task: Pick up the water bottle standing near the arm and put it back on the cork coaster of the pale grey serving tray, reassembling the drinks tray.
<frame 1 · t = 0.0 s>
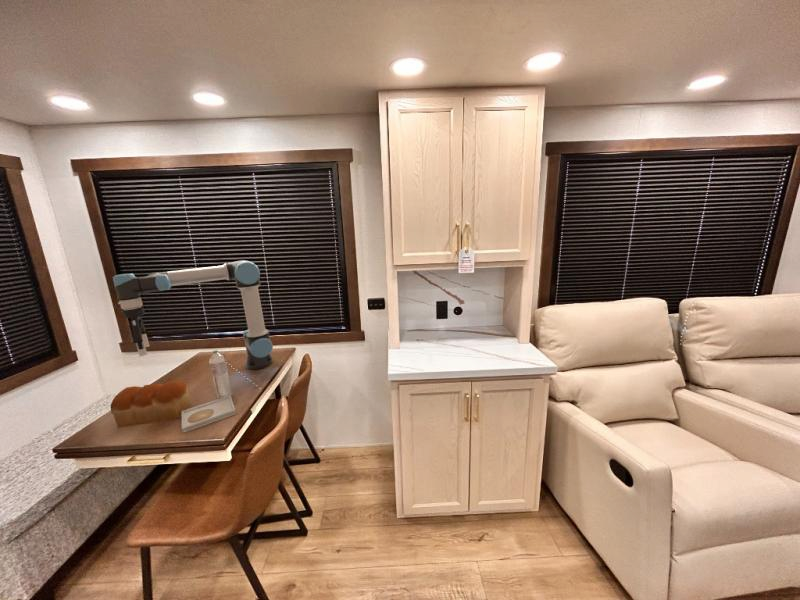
hand: (144, 351, 143), 28 cm above the table, fingers open, 13 cm apart
tray: (209, 414, 138), on the table
water bottle: (225, 397, 152), on the table
bread: (156, 415, 140), on the table
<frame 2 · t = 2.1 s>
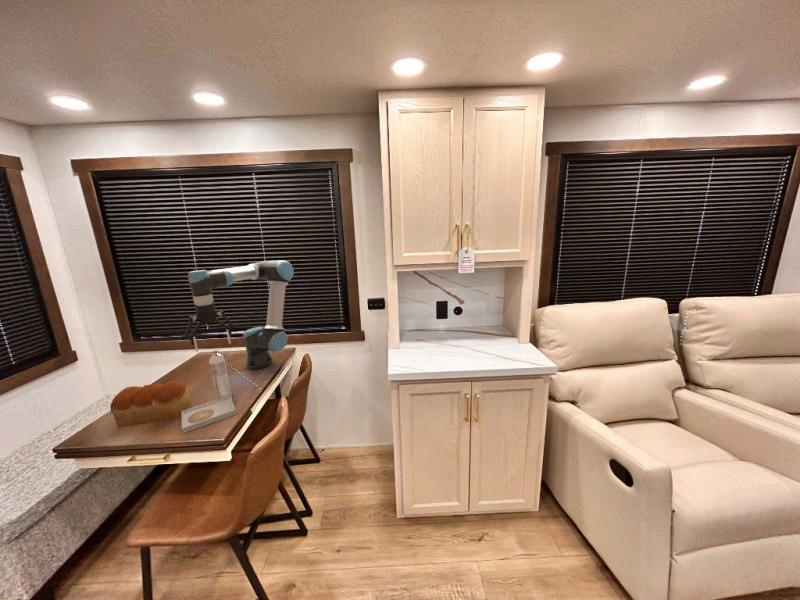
hand: (213, 346, 145), 27 cm above the table, fingers open, 13 cm apart
nothing on the table moved.
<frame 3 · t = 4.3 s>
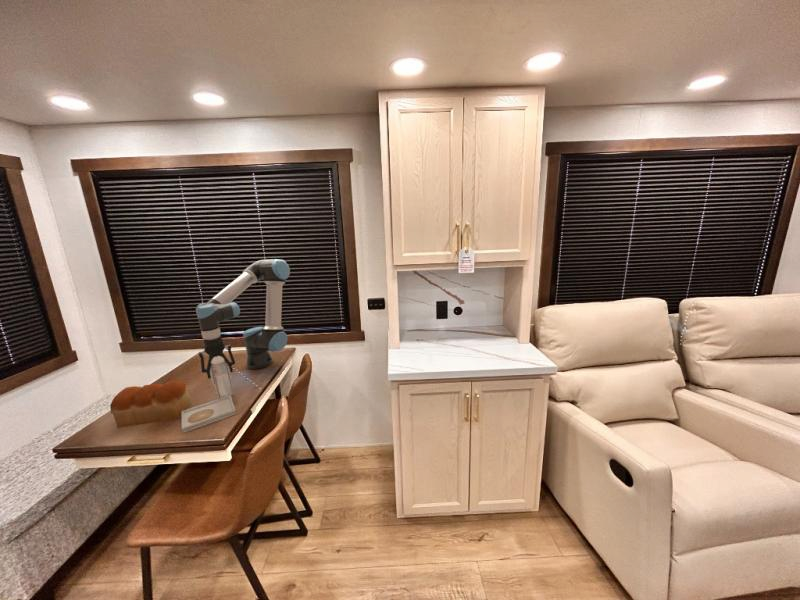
hand: (222, 380, 150), 9 cm above the table, fingers closed on water bottle, 7 cm apart
water bottle: (225, 397, 152), on the table, touching gripper
everything else where it was.
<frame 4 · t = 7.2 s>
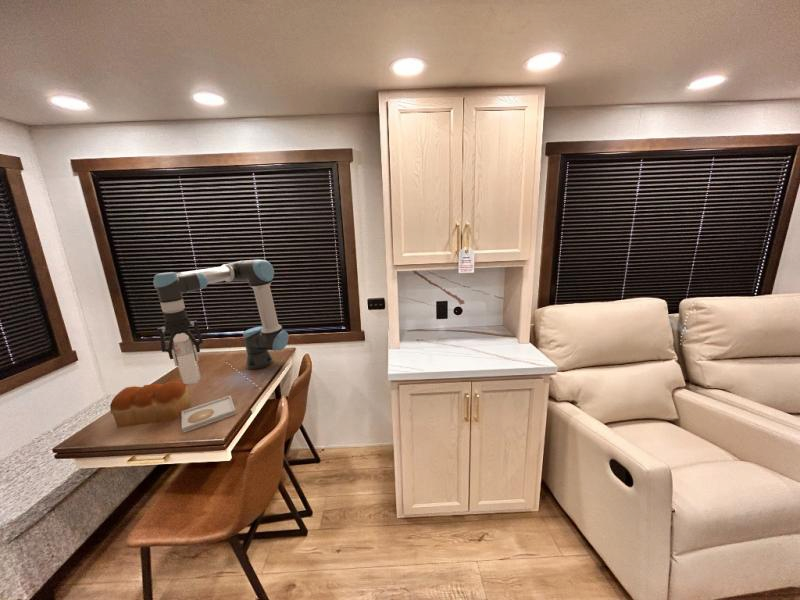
hand: (187, 362, 129), 27 cm above the table, fingers closed on water bottle, 7 cm apart
water bottle: (192, 381, 131), point 18 cm above the table, touching gripper
everything else where it was.
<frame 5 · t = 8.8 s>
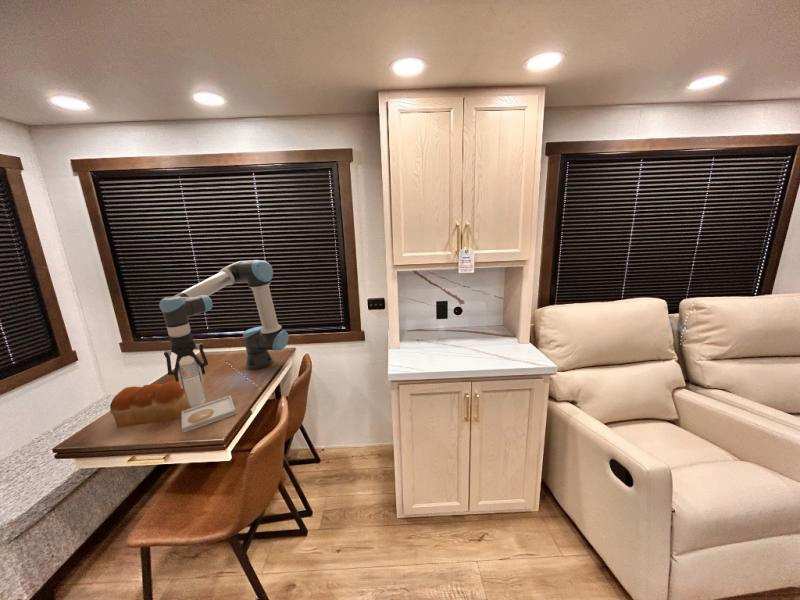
hand: (192, 384, 131), 17 cm above the table, fingers closed on water bottle, 7 cm apart
water bottle: (197, 403, 133), point 8 cm above the table, touching gripper
everything else where it was.
when the fingers open (12 cm above the table, at t = 10.2 s): water bottle drops 1 cm, resting on tray.
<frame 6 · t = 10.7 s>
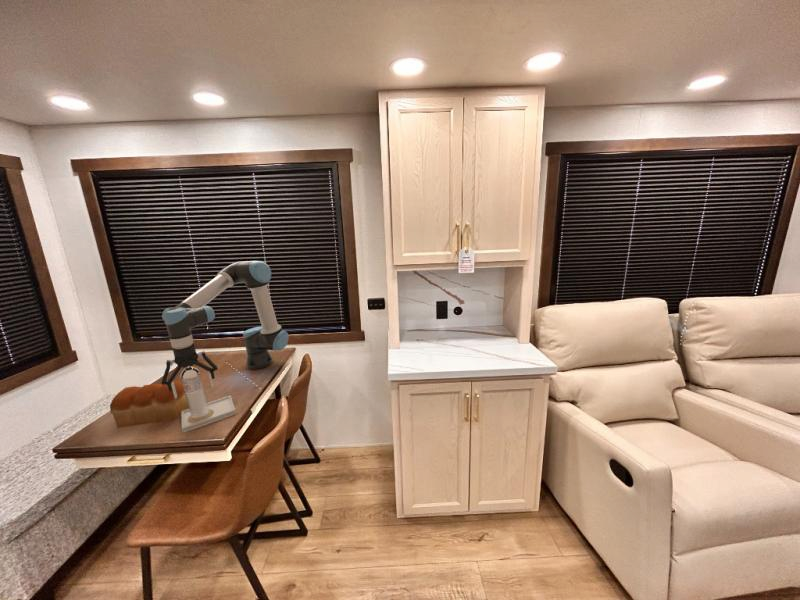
hand: (194, 391, 132), 13 cm above the table, fingers open, 13 cm apart
water bottle: (201, 415, 135), point 1 cm above the table, touching tray
everything else where it was.
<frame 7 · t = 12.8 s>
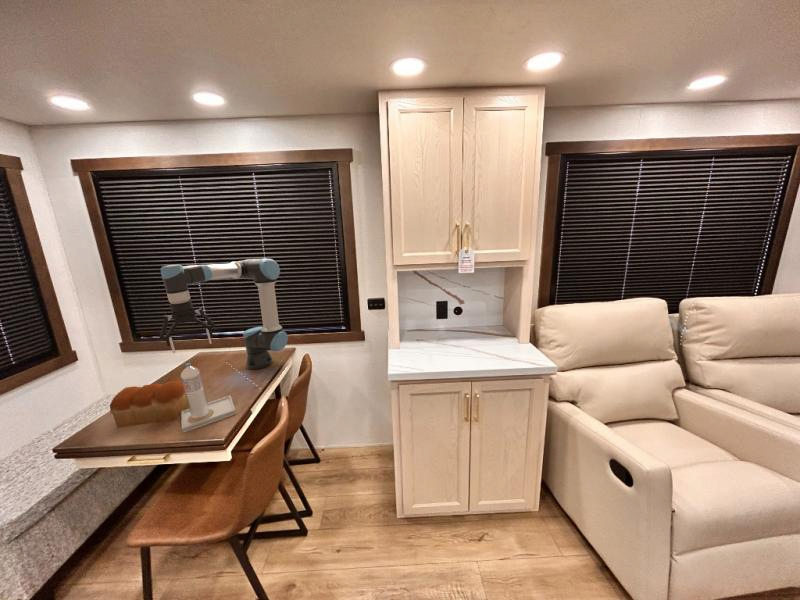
hand: (192, 347, 134), 31 cm above the table, fingers open, 13 cm apart
nothing on the table moved.
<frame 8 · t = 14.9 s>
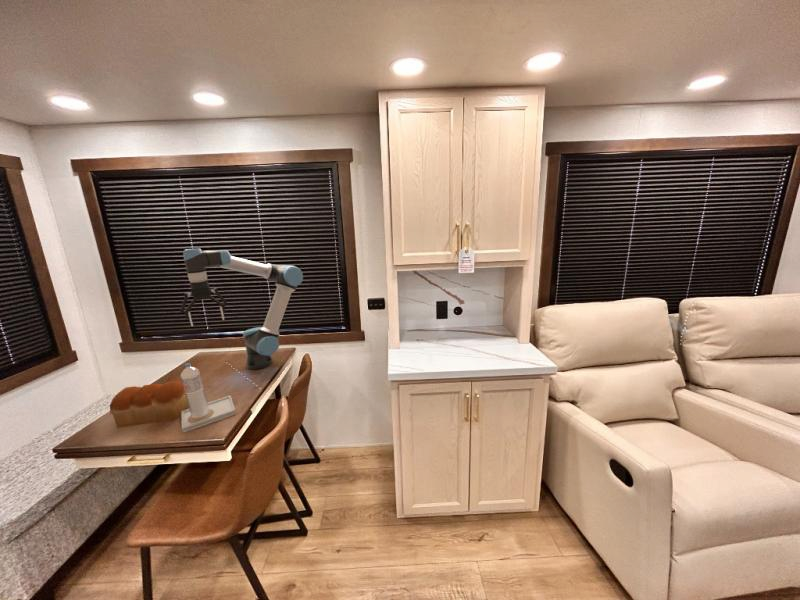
hand: (208, 322, 153), 37 cm above the table, fingers open, 13 cm apart
nothing on the table moved.
at the end: water bottle inside the target area on the tray (0.0 cm from its centre), point 1.2 cm above the tray's base; water bottle tilted 0°; the gripper is holding nothing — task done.
